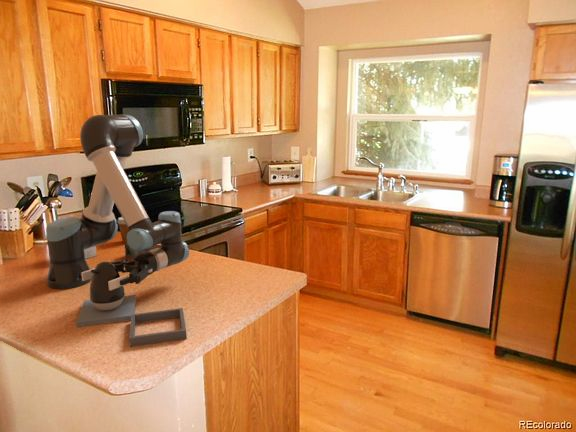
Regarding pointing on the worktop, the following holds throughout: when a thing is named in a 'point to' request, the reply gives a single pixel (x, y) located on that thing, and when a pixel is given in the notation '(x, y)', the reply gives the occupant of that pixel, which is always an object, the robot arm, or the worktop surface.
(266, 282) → the worktop surface
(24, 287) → the worktop surface
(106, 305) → the dark brown egg shape
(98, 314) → the slate-blue board
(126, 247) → the beverage carton
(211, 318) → the worktop surface
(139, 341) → the gray open frame
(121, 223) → the disposable coffee cup
